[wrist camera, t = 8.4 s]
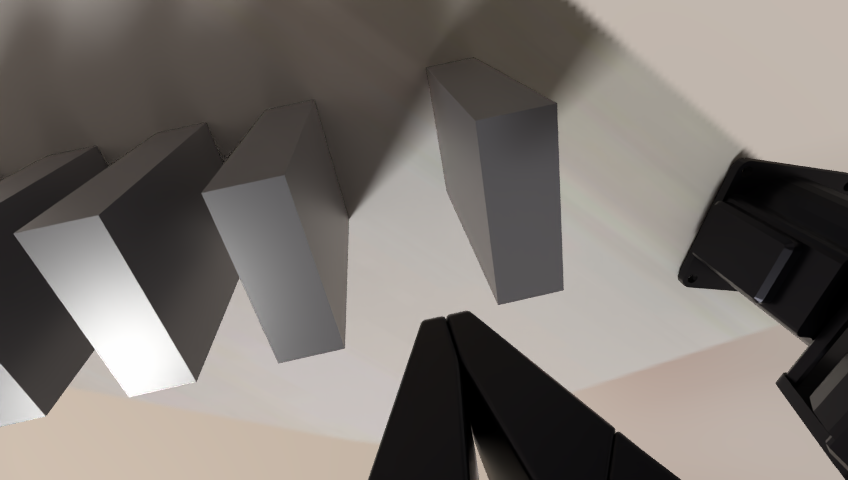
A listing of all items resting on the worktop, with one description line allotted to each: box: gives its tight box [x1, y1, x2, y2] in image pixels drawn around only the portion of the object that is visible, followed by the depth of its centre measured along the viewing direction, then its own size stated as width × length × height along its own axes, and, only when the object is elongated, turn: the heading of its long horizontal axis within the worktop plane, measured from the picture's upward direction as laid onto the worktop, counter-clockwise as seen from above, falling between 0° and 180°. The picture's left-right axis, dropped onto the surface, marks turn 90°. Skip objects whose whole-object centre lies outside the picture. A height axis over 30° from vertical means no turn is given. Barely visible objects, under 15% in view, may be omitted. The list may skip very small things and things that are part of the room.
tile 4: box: [0, 146, 108, 427], centre depth 14 cm, size 2×5×8 cm, turn 10°
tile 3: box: [13, 123, 239, 397], centre depth 14 cm, size 2×5×8 cm, turn 10°
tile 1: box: [426, 58, 564, 305], centre depth 15 cm, size 2×5×8 cm, turn 10°
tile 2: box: [201, 100, 349, 363], centre depth 15 cm, size 2×5×8 cm, turn 10°
